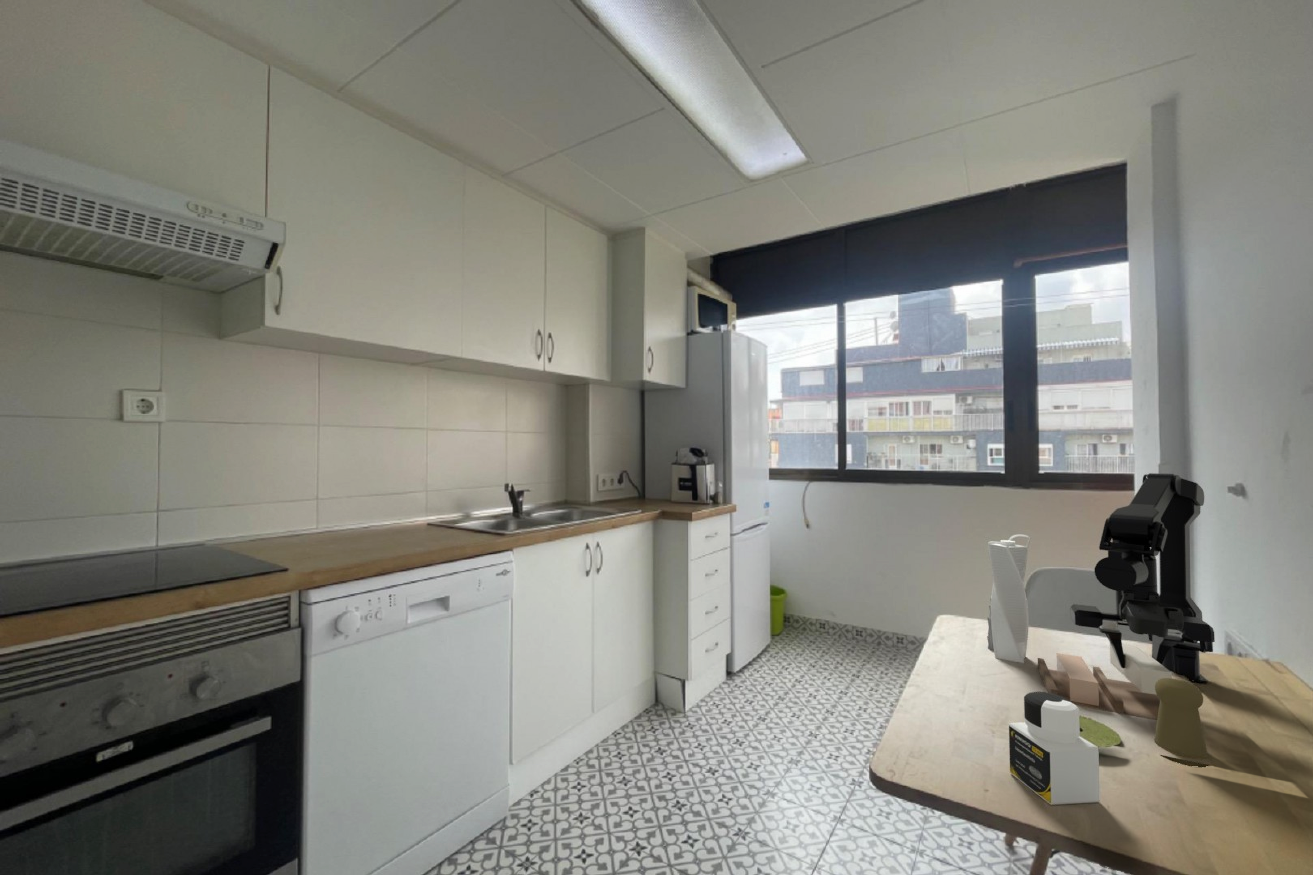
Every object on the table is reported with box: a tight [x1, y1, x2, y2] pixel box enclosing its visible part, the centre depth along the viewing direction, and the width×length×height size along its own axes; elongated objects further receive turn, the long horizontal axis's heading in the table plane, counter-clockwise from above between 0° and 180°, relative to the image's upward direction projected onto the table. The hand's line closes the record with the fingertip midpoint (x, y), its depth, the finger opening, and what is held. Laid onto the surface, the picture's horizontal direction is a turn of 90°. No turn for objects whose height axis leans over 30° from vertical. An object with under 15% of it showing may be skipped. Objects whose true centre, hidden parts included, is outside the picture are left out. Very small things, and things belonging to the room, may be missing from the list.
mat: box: [1079, 714, 1122, 748], centre depth 84 cm, size 11×11×2 cm
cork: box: [1153, 678, 1210, 768], centre depth 80 cm, size 6×6×11 cm
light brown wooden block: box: [1056, 652, 1099, 706], centre depth 100 cm, size 14×4×4 cm, turn 151°
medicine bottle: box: [1008, 691, 1101, 806], centre depth 72 cm, size 7×7×12 cm
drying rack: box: [1037, 657, 1160, 721], centre depth 98 cm, size 17×19×3 cm
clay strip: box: [1109, 642, 1173, 694], centre depth 95 cm, size 14×4×4 cm, turn 156°
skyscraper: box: [986, 534, 1031, 664], centre depth 116 cm, size 8×8×28 cm
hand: (1138, 669), depth 96 cm, fingers closed on clay strip, 4 cm apart
